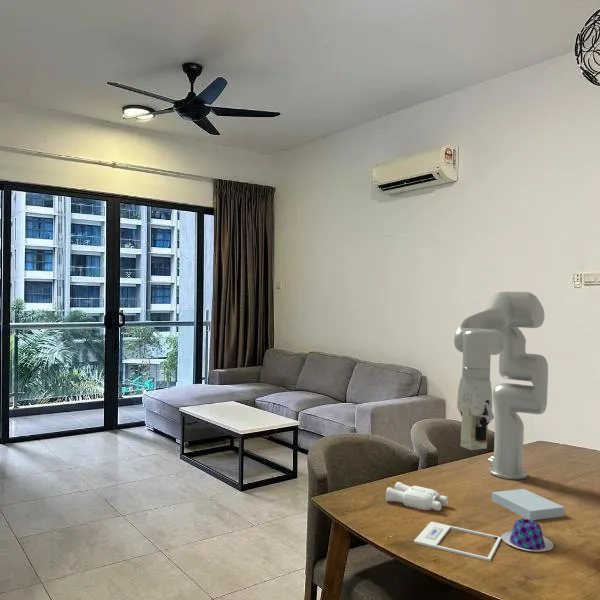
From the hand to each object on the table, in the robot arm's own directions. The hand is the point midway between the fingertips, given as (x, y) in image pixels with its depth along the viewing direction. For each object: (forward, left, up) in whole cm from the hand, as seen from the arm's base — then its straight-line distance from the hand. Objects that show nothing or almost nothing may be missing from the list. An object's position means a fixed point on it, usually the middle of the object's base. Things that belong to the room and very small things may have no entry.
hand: (474, 437), depth 160 cm
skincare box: (0, 0, -3) cm, 3 cm away
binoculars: (-10, -12, -22) cm, 27 cm away
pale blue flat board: (+2, +18, -22) cm, 28 cm away
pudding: (+21, 0, -22) cm, 30 cm away
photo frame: (+15, -16, -22) cm, 31 cm away
